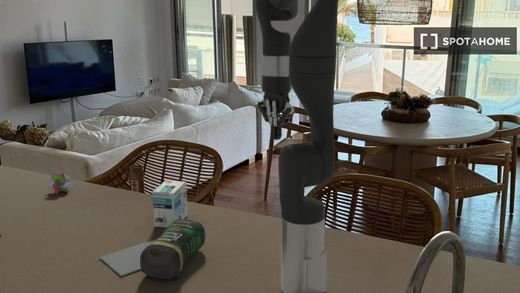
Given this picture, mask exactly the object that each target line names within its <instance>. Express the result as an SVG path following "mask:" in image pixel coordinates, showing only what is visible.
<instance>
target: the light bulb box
mask: <svg viewBox="0 0 520 293" xmlns="http://www.w3.org/2000/svg"><path fill="white" fill-rule="evenodd" d="M151 194H152V204H153V205H152V206H153V208H152V209H153V219H154V222H153V223H154V224H153V225H154V227H158V228H160V227H161V228H168V227H169V225H170V224H171V223H172V222H173V221H174V220H177V219H186V218H187V216H188V214H189V213H188V196H187V181H178V180H169V179H166V180H164V182H162V183H161V184H160V185H159V186H158V187H156V188H155V189H154V190H153V191H152V193H151Z"/></svg>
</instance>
